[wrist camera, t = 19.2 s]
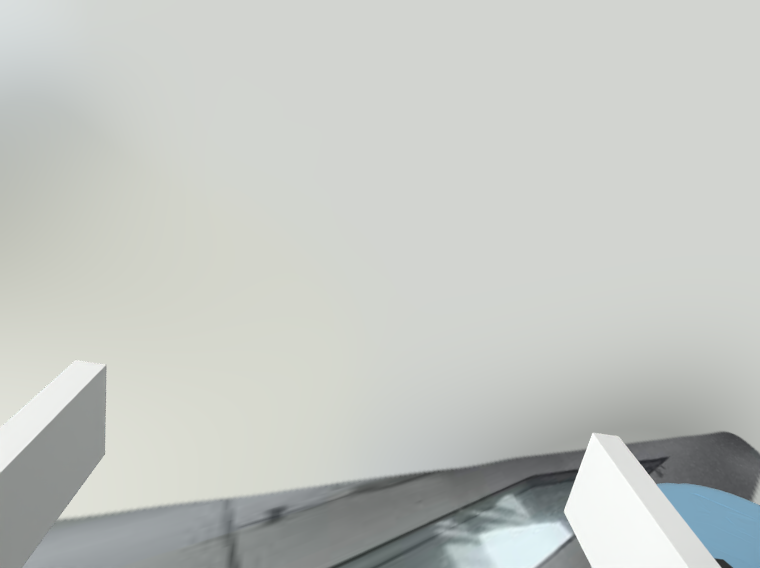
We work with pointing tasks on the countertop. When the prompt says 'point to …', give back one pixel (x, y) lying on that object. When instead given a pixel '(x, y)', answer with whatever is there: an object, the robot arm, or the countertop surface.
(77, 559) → the countertop surface
